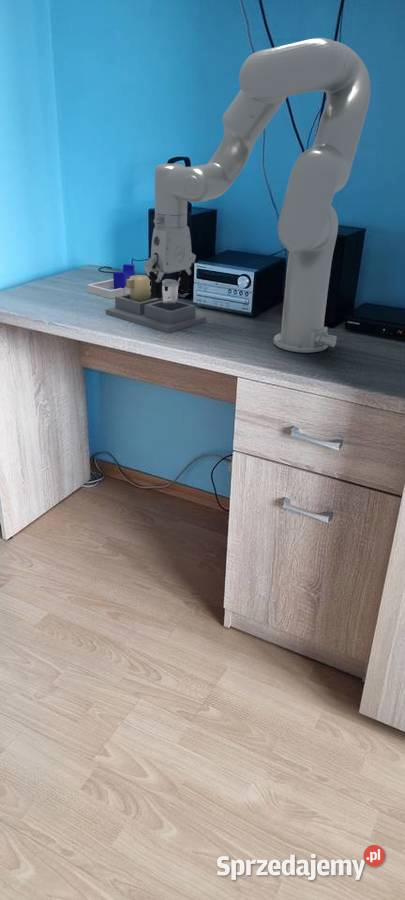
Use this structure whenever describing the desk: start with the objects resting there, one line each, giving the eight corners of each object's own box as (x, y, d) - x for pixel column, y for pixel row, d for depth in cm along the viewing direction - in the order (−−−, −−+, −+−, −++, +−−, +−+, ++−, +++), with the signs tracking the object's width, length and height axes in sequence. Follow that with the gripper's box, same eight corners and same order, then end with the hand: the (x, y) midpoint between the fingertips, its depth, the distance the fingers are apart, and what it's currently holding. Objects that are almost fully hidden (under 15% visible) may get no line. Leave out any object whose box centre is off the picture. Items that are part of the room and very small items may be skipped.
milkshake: (173, 320, 162) (174, 279, 158) (156, 316, 165) (156, 275, 161) (184, 317, 166) (185, 276, 162) (167, 313, 169) (168, 273, 164)
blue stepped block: (120, 284, 198) (119, 263, 195) (134, 285, 197) (134, 264, 195) (108, 293, 187) (108, 272, 185) (124, 294, 187) (123, 273, 184)
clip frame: (156, 287, 196) (156, 280, 195) (110, 298, 184) (110, 291, 183) (132, 281, 201) (132, 274, 201) (87, 291, 189) (86, 284, 188)
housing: (206, 321, 168) (207, 284, 163) (168, 333, 158) (168, 294, 154) (144, 303, 180) (144, 269, 176) (105, 313, 170) (104, 277, 166)
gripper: (156, 227, 147) (156, 303, 155) (206, 219, 159) (204, 290, 167) (133, 223, 151) (134, 297, 159) (183, 215, 163) (182, 285, 171)
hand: (170, 294), depth 163 cm, fingers open, 9 cm apart
